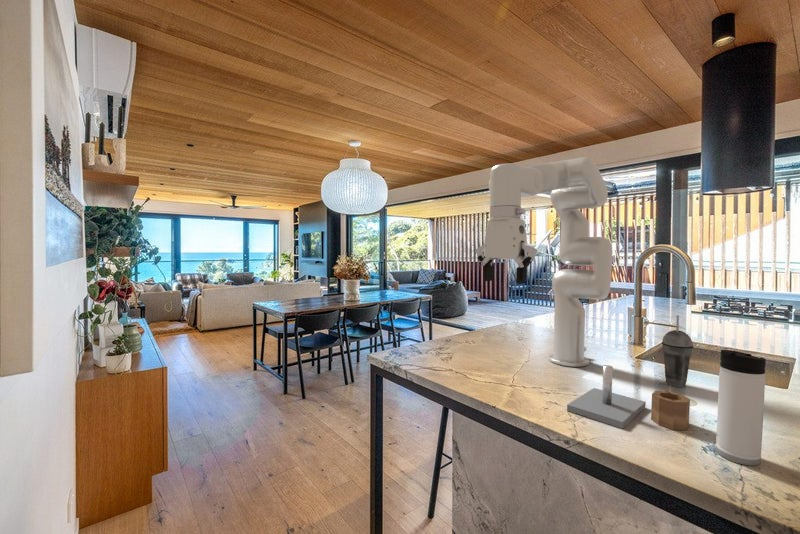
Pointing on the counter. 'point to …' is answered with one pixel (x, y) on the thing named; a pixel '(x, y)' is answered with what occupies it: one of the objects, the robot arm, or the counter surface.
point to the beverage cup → (677, 356)
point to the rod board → (607, 408)
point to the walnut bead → (670, 410)
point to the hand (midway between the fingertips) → (503, 282)
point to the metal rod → (607, 385)
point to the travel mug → (740, 407)
